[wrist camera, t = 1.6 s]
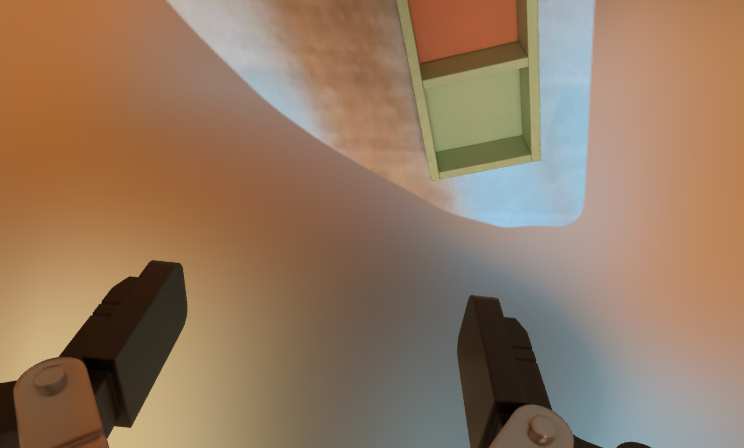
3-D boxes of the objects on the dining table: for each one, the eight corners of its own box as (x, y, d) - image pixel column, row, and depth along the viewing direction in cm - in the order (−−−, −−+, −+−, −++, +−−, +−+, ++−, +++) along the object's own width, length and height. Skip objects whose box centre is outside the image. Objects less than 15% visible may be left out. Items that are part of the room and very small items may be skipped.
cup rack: (427, 157, 42) (431, 181, 40) (386, -53, 32) (388, -40, 29) (529, 137, 41) (540, 160, 39) (522, -89, 31) (536, -79, 28)
